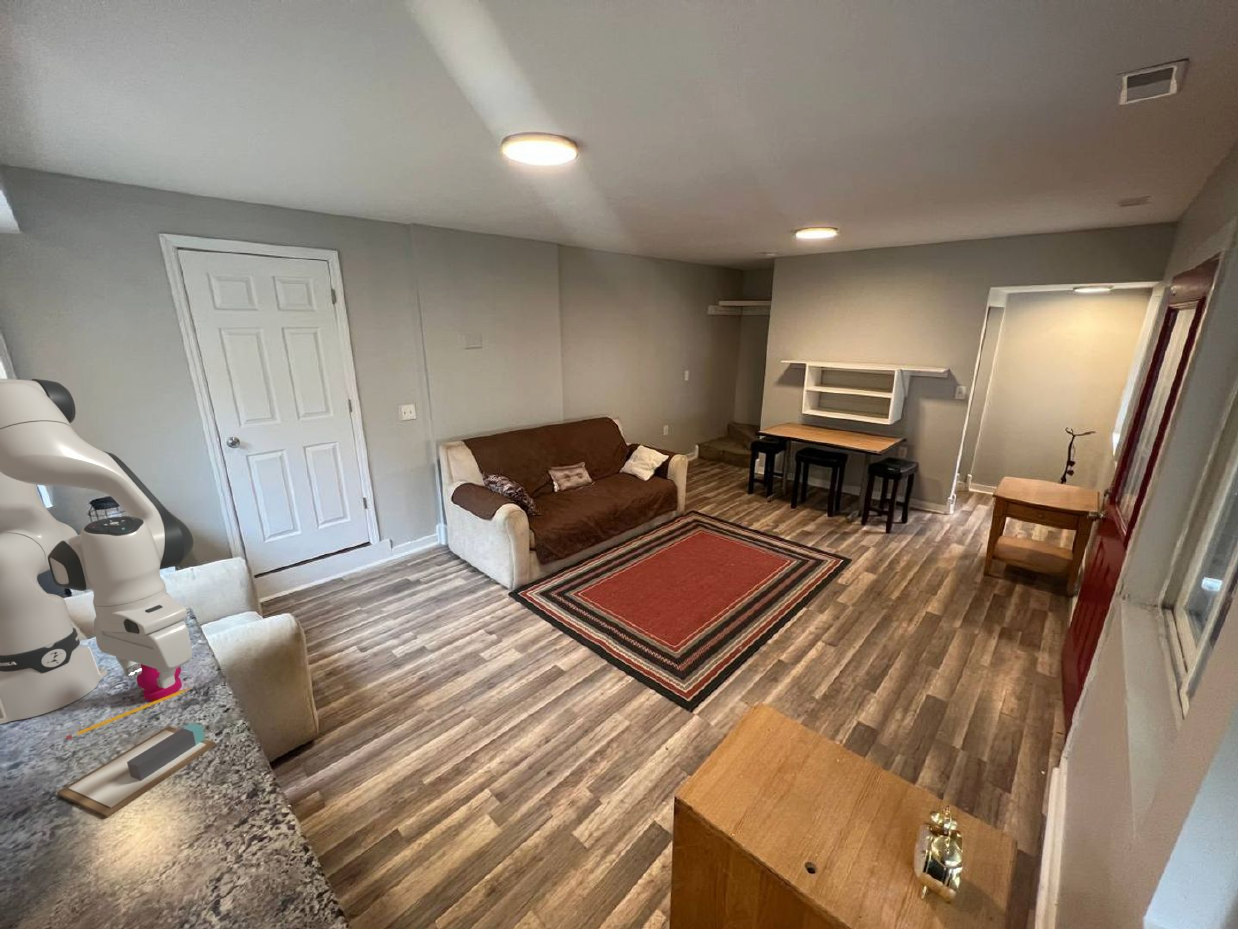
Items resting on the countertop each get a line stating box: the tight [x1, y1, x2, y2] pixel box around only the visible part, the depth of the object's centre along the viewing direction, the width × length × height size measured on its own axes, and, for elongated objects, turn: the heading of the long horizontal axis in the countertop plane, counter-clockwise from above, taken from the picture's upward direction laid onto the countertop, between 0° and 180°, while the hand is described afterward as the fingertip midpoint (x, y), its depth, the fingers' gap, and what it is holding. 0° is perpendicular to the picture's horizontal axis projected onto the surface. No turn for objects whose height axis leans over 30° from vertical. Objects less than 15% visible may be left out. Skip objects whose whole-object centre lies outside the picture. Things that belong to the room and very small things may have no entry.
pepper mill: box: [136, 664, 183, 702], centre depth 106 cm, size 7×7×20 cm
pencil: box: [66, 687, 193, 740], centre depth 102 cm, size 1×19×1 cm, turn 141°
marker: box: [127, 722, 206, 781], centre depth 88 cm, size 3×10×3 cm, turn 161°
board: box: [56, 725, 216, 819], centre depth 87 cm, size 14×16×1 cm
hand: (150, 680), depth 85 cm, fingers open, 8 cm apart
